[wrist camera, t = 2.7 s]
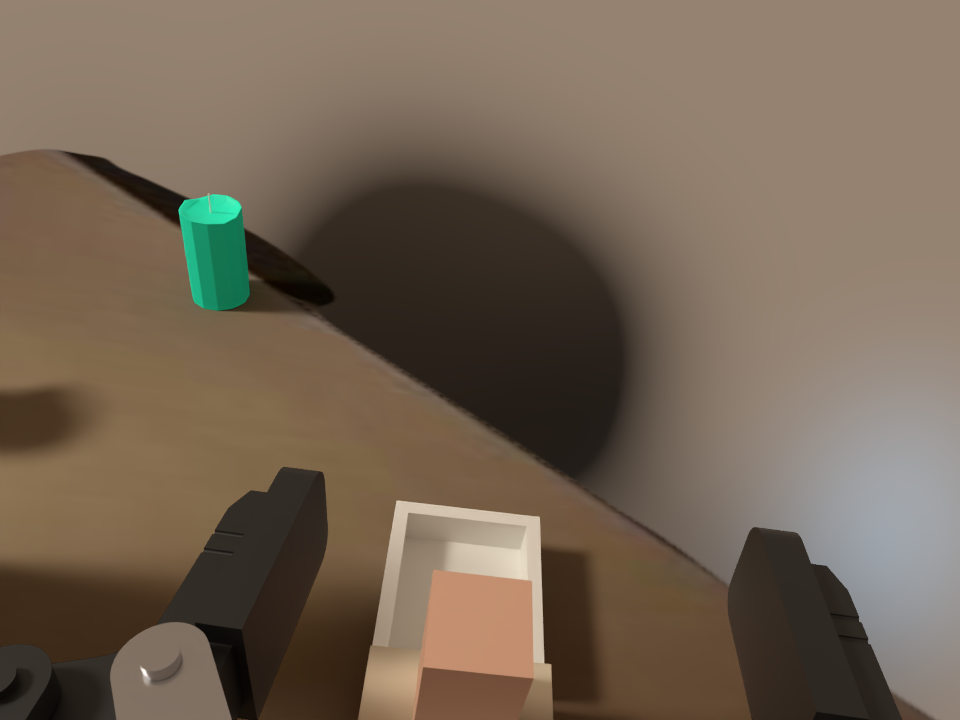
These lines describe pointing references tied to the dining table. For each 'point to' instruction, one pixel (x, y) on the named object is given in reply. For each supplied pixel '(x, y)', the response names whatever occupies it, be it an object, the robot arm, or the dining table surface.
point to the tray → (452, 564)
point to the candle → (215, 251)
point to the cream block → (396, 680)
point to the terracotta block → (475, 648)
